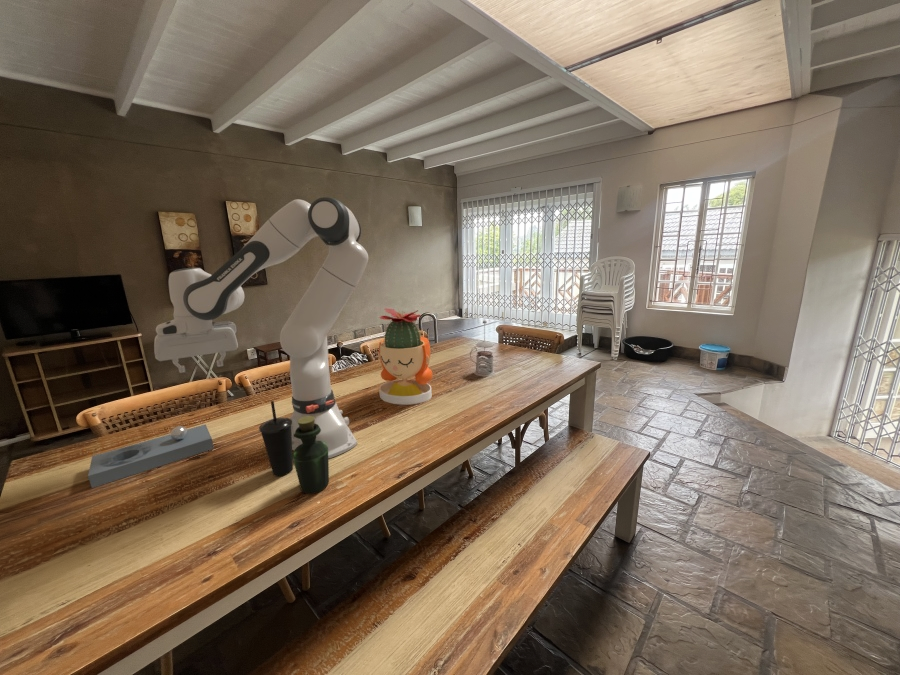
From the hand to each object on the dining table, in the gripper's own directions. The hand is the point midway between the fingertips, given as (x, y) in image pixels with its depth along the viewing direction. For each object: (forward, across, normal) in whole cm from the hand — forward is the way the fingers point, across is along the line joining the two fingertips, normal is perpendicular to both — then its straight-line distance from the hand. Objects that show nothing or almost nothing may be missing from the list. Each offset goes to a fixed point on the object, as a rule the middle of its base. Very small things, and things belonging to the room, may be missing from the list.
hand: (201, 369), depth 105 cm
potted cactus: (+21, -65, +13) cm, 70 cm away
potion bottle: (+22, -16, +46) cm, 53 cm away
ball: (+18, +8, +2) cm, 19 cm away
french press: (+20, -104, +17) cm, 108 cm away
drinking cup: (+22, -12, +34) cm, 42 cm away
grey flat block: (+23, +14, +2) cm, 27 cm away
